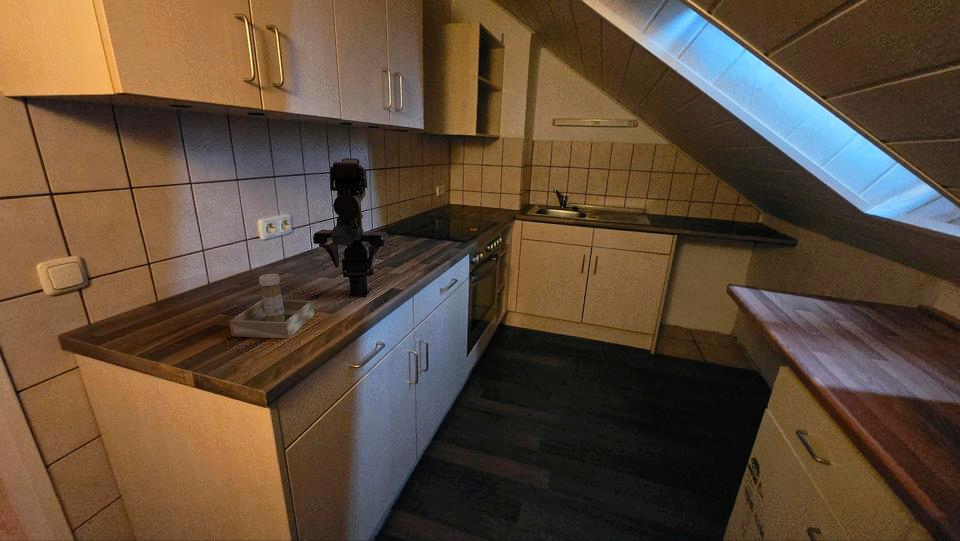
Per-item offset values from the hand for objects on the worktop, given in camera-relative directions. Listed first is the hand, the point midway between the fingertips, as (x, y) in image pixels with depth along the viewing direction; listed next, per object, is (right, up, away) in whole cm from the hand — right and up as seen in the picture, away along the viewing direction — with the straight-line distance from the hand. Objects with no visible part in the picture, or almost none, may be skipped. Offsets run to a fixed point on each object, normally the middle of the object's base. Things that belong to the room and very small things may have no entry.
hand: (353, 268), depth 103 cm
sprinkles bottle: (-19, -15, -5) cm, 24 cm away
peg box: (-19, -15, -5) cm, 24 cm away
